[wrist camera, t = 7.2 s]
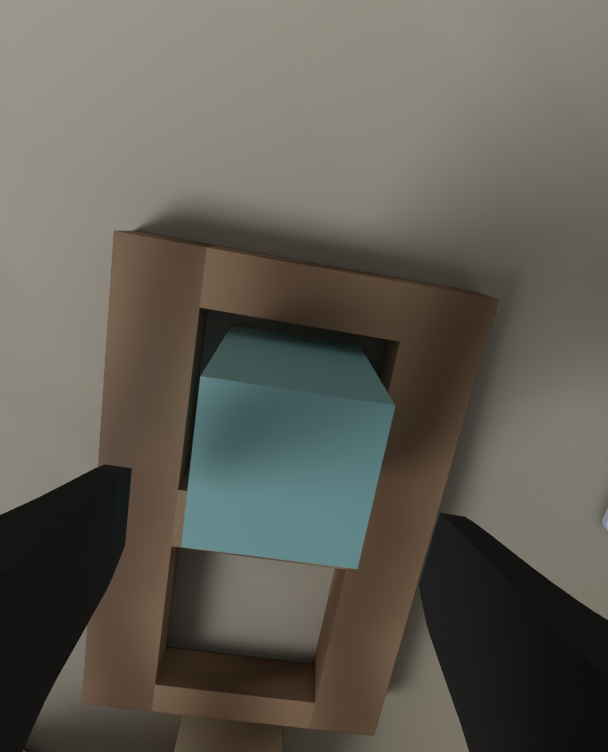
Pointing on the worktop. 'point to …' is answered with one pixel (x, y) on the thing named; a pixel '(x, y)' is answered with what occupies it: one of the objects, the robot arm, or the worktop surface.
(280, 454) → the teal block
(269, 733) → the maple block
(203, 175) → the worktop surface
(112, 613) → the walnut frame
